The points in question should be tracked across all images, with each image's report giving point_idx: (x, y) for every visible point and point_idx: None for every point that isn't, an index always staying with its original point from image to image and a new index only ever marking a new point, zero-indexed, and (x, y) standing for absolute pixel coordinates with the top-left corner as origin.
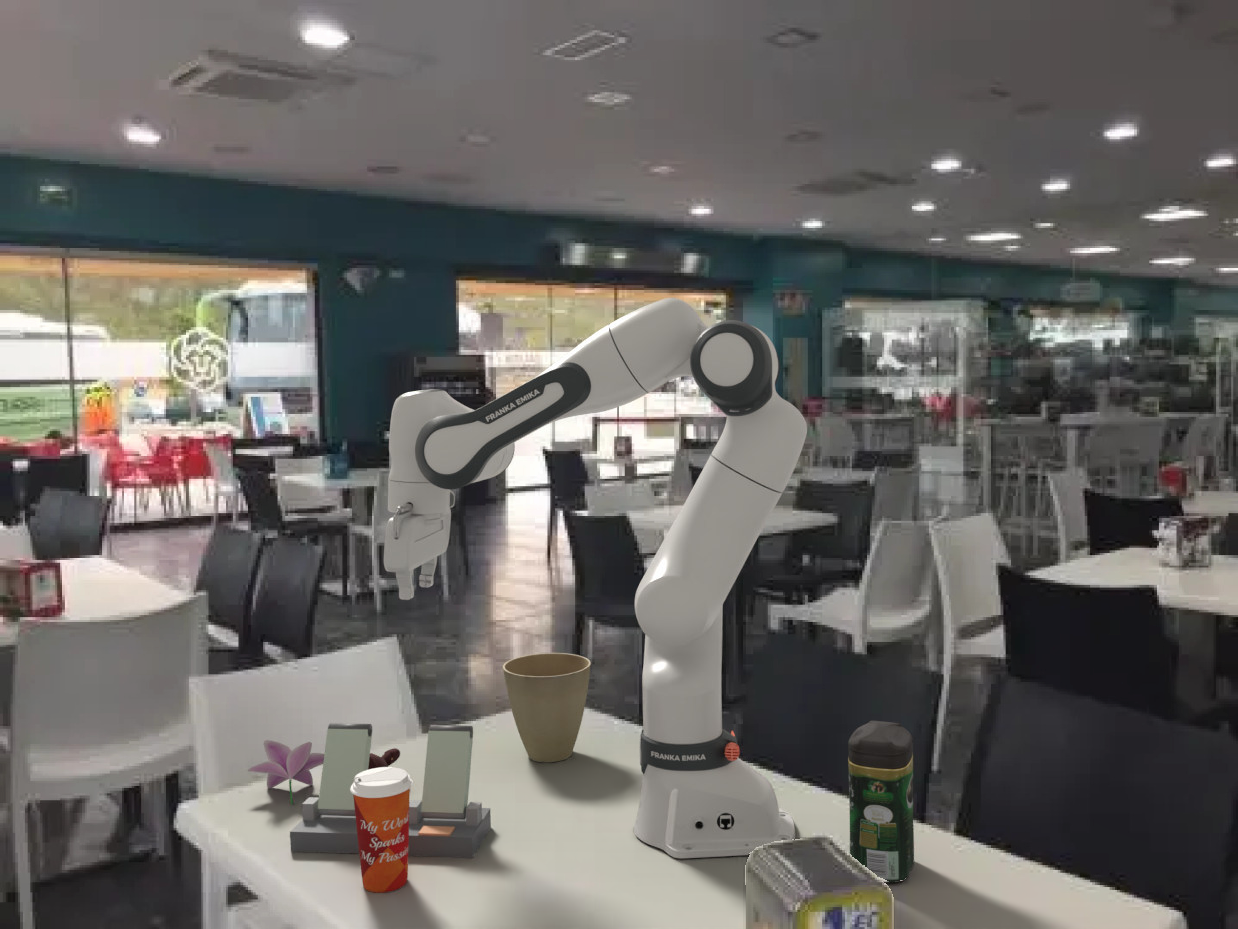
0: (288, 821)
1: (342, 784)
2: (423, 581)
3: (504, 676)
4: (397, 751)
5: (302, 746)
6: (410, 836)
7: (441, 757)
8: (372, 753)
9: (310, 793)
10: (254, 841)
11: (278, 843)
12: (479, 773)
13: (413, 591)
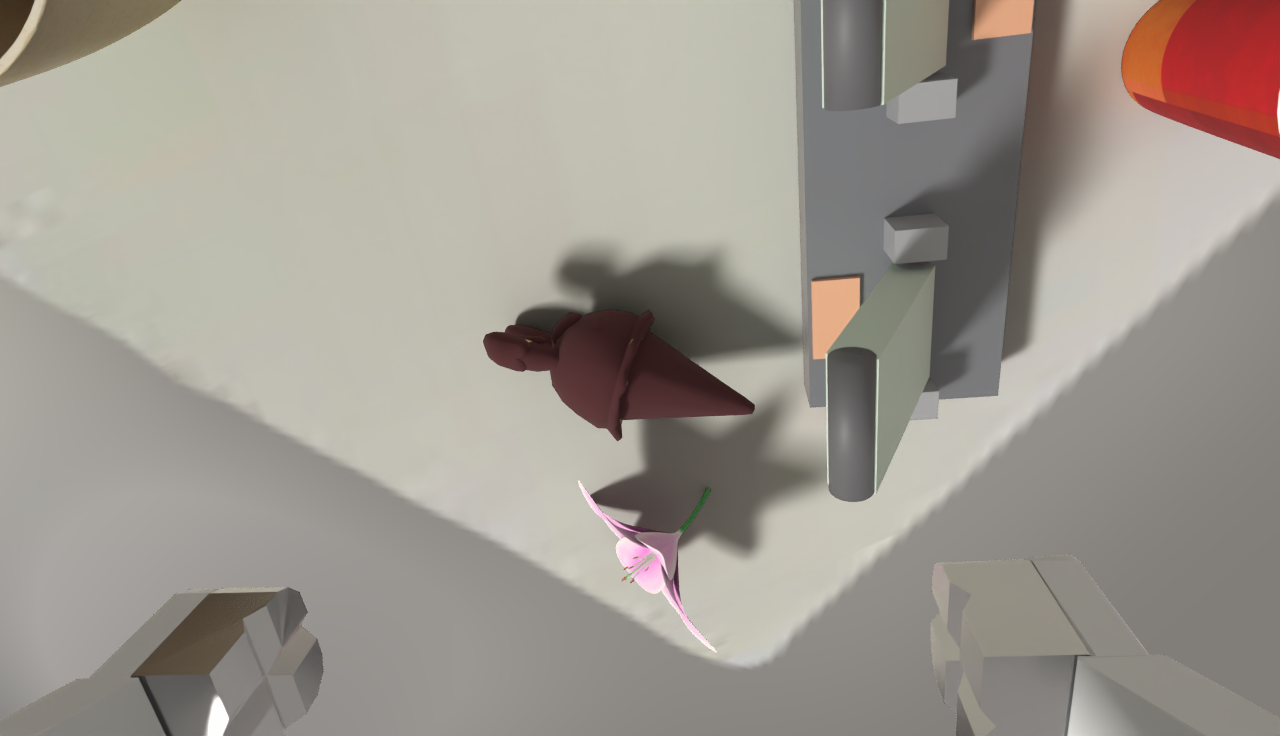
0: (806, 453)
1: (918, 345)
2: (273, 691)
3: (26, 70)
4: (503, 339)
5: (663, 564)
6: (1030, 56)
7: (911, 20)
8: (577, 390)
9: (637, 479)
10: (923, 472)
11: (932, 419)
12: (387, 99)
13: (991, 604)
